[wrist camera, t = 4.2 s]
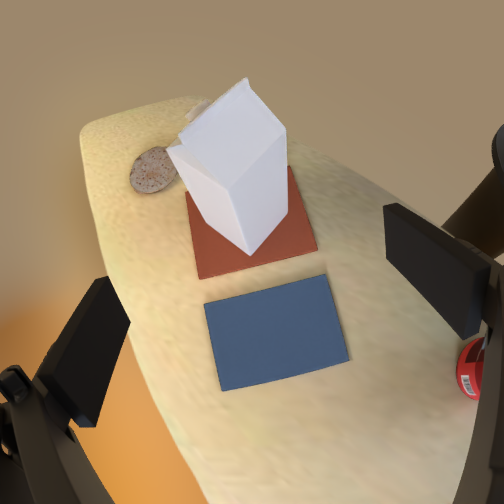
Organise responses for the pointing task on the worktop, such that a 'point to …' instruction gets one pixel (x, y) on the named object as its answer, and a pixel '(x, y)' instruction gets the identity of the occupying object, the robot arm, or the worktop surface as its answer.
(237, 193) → the milk carton
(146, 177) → the flatbread
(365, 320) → the worktop surface
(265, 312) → the slate-blue mat
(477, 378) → the canned food
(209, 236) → the terracotta mat
